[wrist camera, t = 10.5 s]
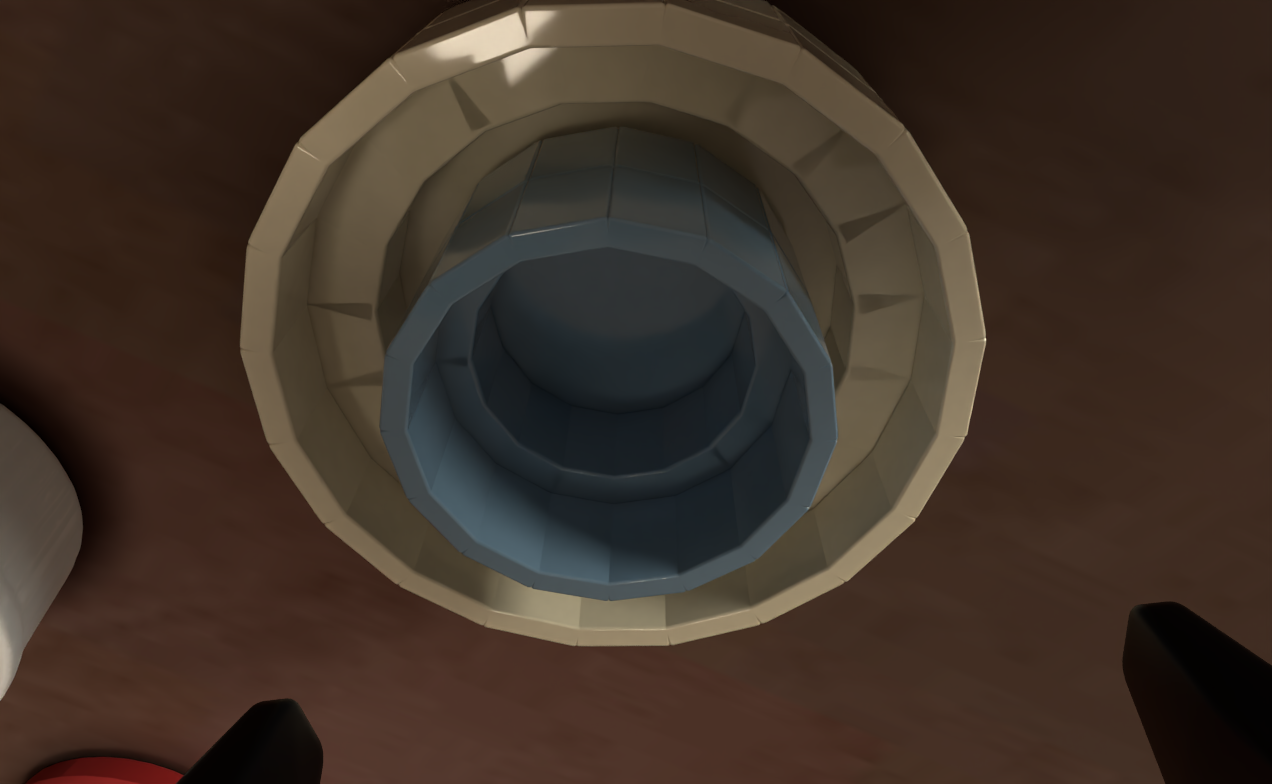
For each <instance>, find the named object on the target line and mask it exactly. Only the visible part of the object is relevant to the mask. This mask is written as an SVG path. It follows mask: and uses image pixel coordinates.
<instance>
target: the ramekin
mask: <svg viewBox="0 0 1272 784" xmlns="http://www.w3.org/2000/svg"><path fill="white" fill-rule="evenodd" d="M82 532H83V521H82V511H81V508H80V504H79V501H78V497H77V494H76V491H75V489H74V486H73V484H72V482H71V481H70V479H69V477H68V475H67V474H66V472H65V470H64V469H63V467H62V465H61V464H60V462H59V461H58V459H57V458H56V456H55V455H54V454H53V453H52V451H51V450H50V449H49V448H48V446H47V445H46V444H45V443H44V442H43V441H42V439H41V438H40V437H39V436H38V435H37V434H36V433H35V432H34V431H33V430H32V429H31V428H30V427H29V426H28V425H27V424H26V423H25V422H23V421H22V420H21V419H20V418H19V417H17V416H16V415H15V414H14V413H13V412H11V411H10V410H9V409H7V408H6V407H5V406H4V405H2V404H1V403H0V701H1V699H2V698H3V696H4V695H5V693H6V691H7V690H8V688H9V686H10V684H11V683H12V681H13V679H14V677H15V674H16V671H17V669H18V666H19V663H20V660H21V657H22V653H23V650H24V648H25V646H26V645H27V643H28V641H29V640H30V638H31V636H32V635H33V633H34V631H35V630H36V628H37V626H38V625H39V623H40V622H41V620H42V618H43V617H44V615H45V613H46V612H47V610H48V608H49V607H50V605H51V604H52V602H53V600H54V599H55V597H56V596H57V594H58V592H59V591H60V589H61V587H62V586H63V584H64V583H65V581H66V579H67V577H68V576H69V574H70V572H71V570H72V568H73V566H74V563H75V560H76V557H77V555H78V553H79V550H80V548H81V542H82Z"/></svg>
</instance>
